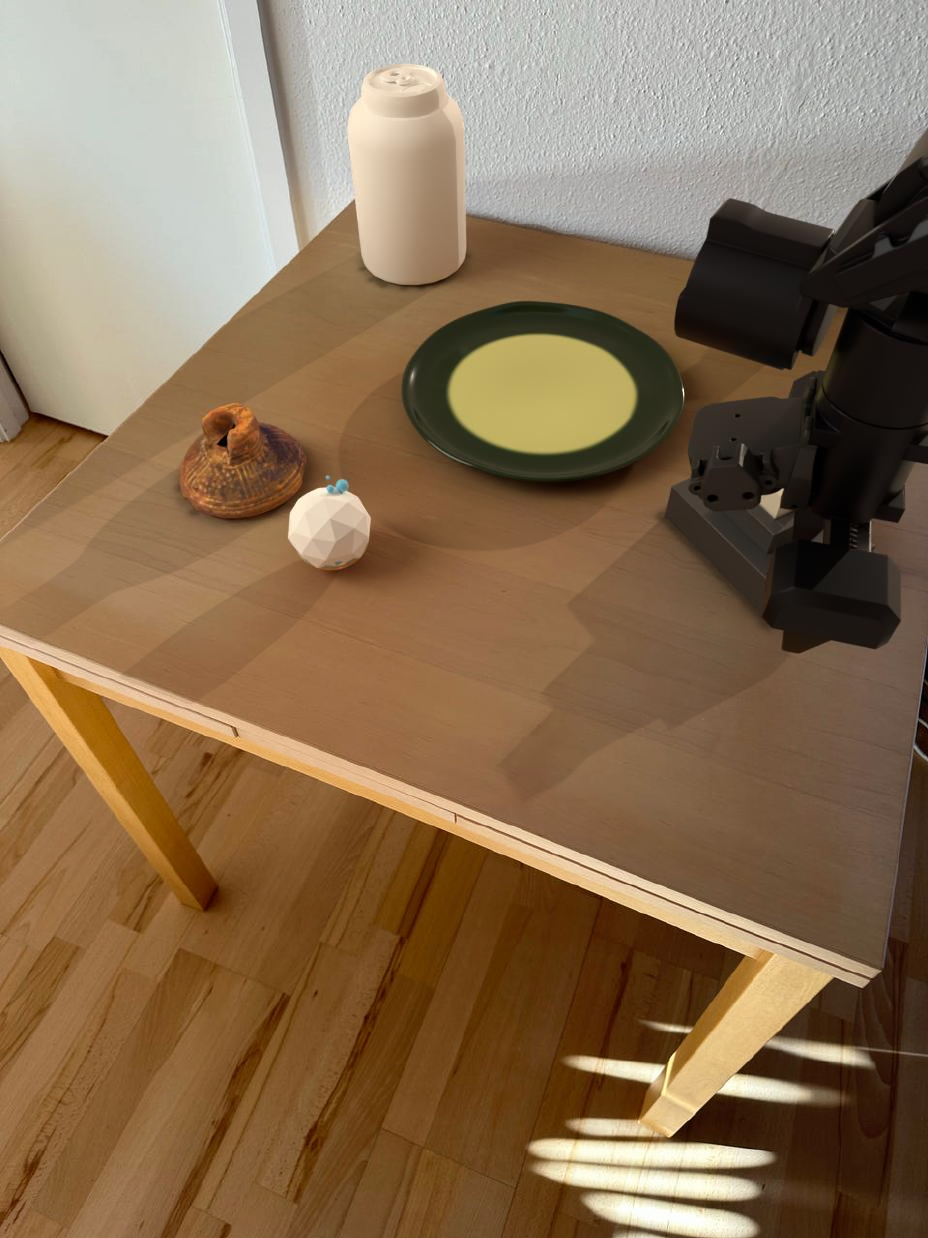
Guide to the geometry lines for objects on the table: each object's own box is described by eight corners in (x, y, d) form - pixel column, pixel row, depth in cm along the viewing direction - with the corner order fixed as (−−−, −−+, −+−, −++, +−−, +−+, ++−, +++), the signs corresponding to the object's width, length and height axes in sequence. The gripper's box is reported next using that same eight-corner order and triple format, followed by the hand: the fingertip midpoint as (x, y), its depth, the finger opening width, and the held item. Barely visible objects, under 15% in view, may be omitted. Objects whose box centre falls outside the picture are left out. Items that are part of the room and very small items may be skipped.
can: (341, 257, 106) (316, 75, 90) (421, 220, 111) (411, 41, 95) (406, 301, 100) (392, 114, 84) (488, 260, 105) (489, 76, 89)
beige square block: (808, 504, 72) (817, 481, 70) (774, 520, 71) (783, 498, 69) (778, 478, 74) (786, 455, 72) (744, 493, 73) (752, 470, 71)
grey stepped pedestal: (860, 575, 75) (886, 526, 70) (769, 622, 72) (790, 575, 67) (750, 476, 82) (767, 426, 77) (664, 515, 79) (675, 465, 74)
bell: (329, 489, 82) (317, 428, 76) (208, 540, 78) (186, 480, 73) (277, 420, 88) (262, 358, 82) (162, 465, 84) (139, 404, 79)
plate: (379, 342, 96) (377, 322, 94) (621, 302, 99) (624, 282, 97) (438, 524, 79) (436, 504, 77) (726, 467, 83) (732, 447, 81)
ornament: (358, 594, 74) (347, 530, 68) (281, 576, 76) (263, 510, 69) (387, 538, 78) (379, 471, 72) (313, 521, 80) (299, 454, 73)
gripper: (734, 267, 50) (686, 471, 62) (691, 490, 39) (643, 683, 52) (942, 295, 48) (850, 500, 60) (957, 538, 37) (840, 728, 49)
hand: (795, 592), depth 55 cm, fingers open, 9 cm apart
